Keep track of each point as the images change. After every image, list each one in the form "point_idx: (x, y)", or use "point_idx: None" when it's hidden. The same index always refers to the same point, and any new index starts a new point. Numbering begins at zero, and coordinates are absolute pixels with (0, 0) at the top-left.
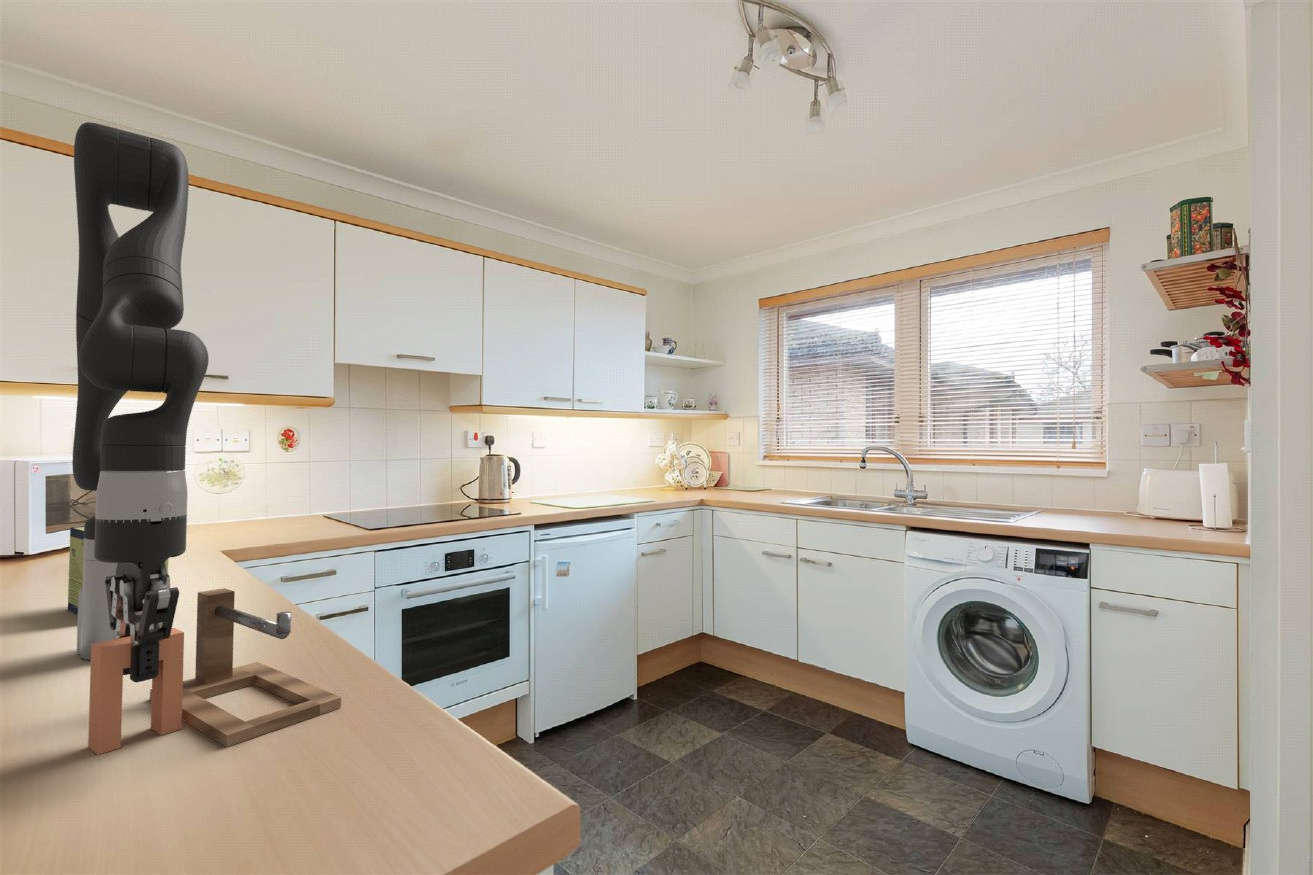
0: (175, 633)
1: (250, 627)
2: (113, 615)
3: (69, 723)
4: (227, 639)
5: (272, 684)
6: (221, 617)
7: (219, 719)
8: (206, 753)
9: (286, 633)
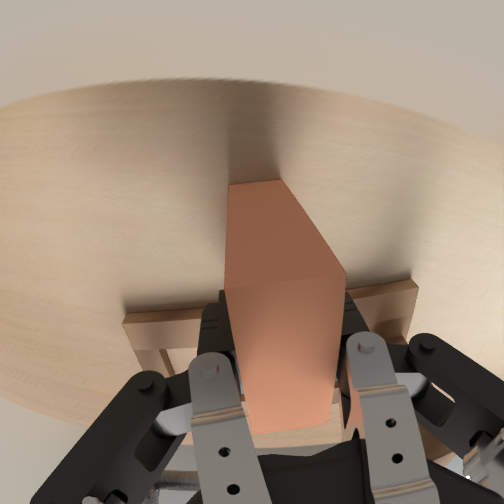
0: (258, 424)
1: None
2: (383, 391)
3: (413, 180)
4: None
5: None
6: None
7: (192, 332)
8: (121, 293)
9: None
